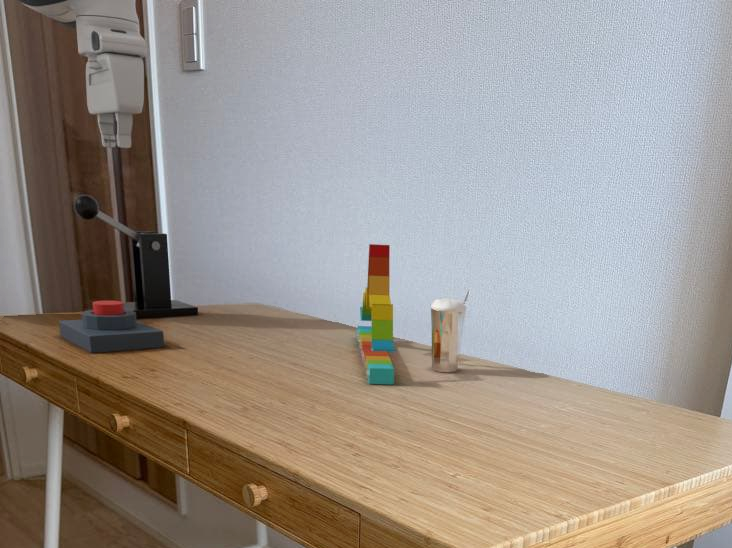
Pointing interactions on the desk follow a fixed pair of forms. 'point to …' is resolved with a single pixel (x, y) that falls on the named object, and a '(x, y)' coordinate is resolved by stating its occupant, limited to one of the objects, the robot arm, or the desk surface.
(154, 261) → the black lever stand
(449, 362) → the milkshake
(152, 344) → the button block
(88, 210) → the tap lever
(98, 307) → the button
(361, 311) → the chart
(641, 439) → the desk surface
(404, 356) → the desk surface
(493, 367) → the desk surface
